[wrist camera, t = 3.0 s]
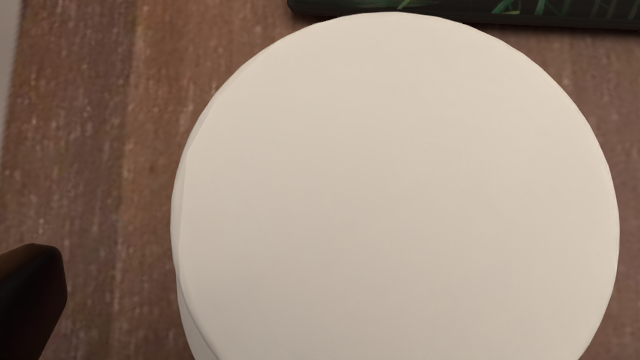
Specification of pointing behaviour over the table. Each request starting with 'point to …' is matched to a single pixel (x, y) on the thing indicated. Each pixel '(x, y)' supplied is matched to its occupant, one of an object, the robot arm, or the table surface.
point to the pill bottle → (392, 202)
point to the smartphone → (492, 11)
